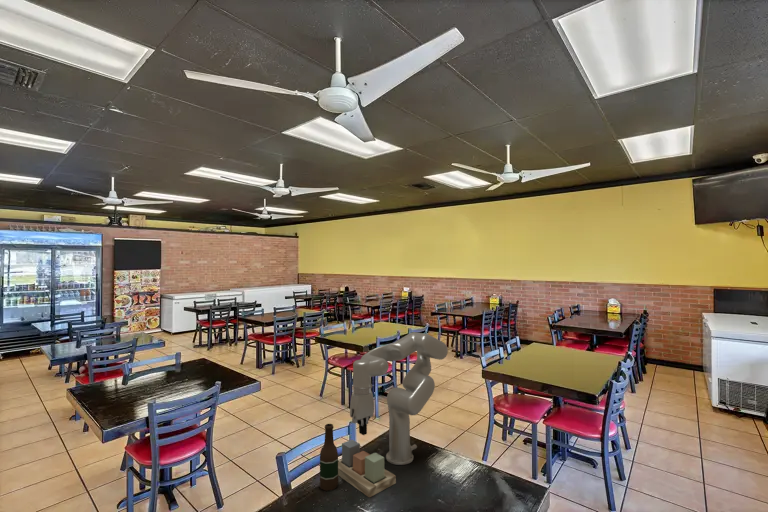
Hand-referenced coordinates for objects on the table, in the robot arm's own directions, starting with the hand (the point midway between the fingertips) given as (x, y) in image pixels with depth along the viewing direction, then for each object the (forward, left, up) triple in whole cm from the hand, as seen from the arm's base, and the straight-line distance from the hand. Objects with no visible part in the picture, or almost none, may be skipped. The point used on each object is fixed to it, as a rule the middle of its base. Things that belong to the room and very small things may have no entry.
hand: (363, 433), depth 153 cm
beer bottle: (+14, -4, -18) cm, 23 cm away
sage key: (0, +8, -15) cm, 17 cm away
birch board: (0, 0, -18) cm, 18 cm away
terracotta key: (0, 0, -17) cm, 17 cm away
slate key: (0, -8, -15) cm, 17 cm away
